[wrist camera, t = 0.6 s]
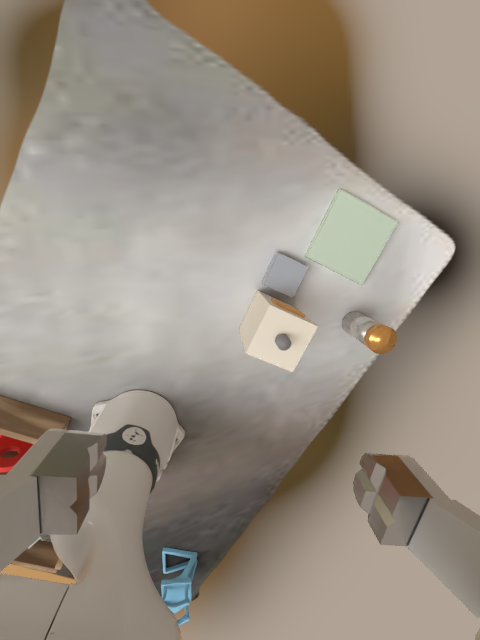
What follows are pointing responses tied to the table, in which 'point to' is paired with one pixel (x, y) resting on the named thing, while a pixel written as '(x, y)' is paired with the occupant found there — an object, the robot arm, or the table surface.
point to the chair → (178, 582)
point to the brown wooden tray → (39, 557)
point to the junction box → (275, 331)
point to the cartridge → (370, 332)
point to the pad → (350, 237)
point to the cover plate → (284, 274)
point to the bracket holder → (27, 422)
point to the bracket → (11, 444)
